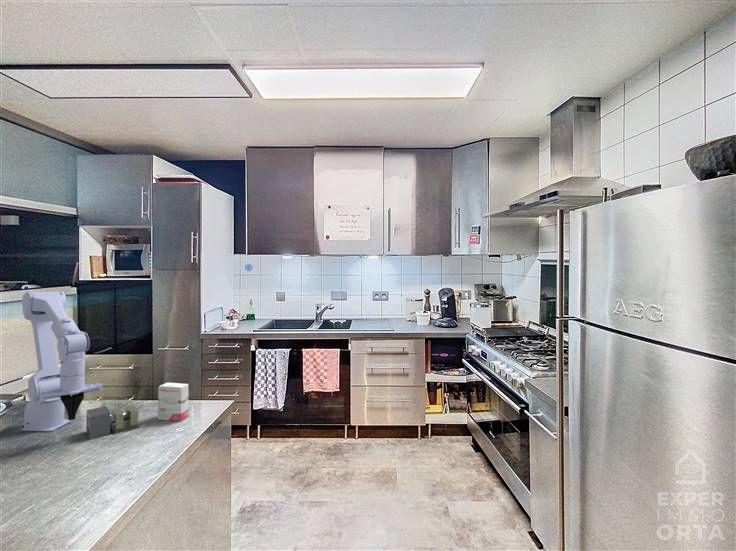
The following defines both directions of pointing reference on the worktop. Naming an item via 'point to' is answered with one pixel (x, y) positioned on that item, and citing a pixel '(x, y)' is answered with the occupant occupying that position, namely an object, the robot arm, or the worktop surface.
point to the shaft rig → (123, 420)
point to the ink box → (173, 401)
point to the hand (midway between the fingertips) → (71, 418)
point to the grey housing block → (98, 422)
